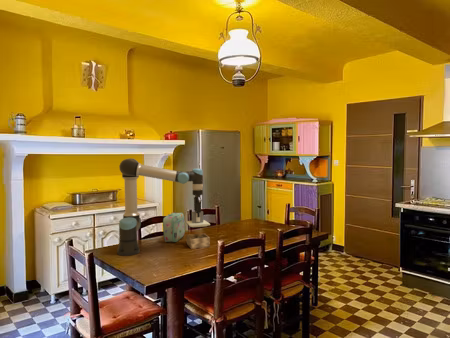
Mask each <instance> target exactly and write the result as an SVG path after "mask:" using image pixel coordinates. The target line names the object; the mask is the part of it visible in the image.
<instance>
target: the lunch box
mask: <svg viewBox="0 0 450 338" xmlns="http://www.w3.org/2000/svg"><path fill="white" fill-rule="evenodd" d="M162 227H163V238H164V242H165V243H166V242H167V243H176V242H177V243H178V242H179V241H180V239H182V238H183V237H184V236H185V232H186V231H185V230H186V223H185V215H184V213H183V212H172V213H170V214H168V215H166V216H165V217H163V220H162Z"/></svg>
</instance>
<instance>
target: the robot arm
mask: <svg viewBox="0 0 450 338" xmlns="http://www.w3.org/2000/svg"><path fill="white" fill-rule="evenodd" d="M119 171H120V173H121V175H122V176H121V178H122V179H123V180H124V213H123V215H122V218H121V219H120V220H119V223H118V231H119V233H118V234H119V242H118V245H117V249H116V253H117V255H119V256H123V257H124V256H133V255H134V256H135V255H137V254H139V253H140V252H141V251H140V245H139V243H138V237H137V236H138V231H139V229H140V228H141V225H142V224H141V223H142V221H141V218H140V216H141V215H140V213H139V212H138V183H137V182H138V178H139V177H140V176H142V177H147V178H153V179H158V180H164V181H170V182H175V183H180V184H183V185H184V184H187V183H188V182H191V183H192V196H194V197H193V209H194V210H193V211H194V212H196V211H197V212H196V222H200V212H201V211H202V198H201V196H203V195H204V193H203V192H204V191H203V187H204V183H203V181H204V180H203V178H204V172H203V169H202V168H193V169H192V170H191V171H190V170H188V171H186V170H180V171H178V170H174V169H173V170H172V169H166V168H164V167H163V168H161V167H156V166H153V165H151V166H150V165H146V164H142V163H140V162H138V160H136V159H135V158H126V159H125V158H124V159H123V160H121V162H120V164H119Z"/></svg>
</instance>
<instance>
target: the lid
mask: <svg viewBox="0 0 450 338" xmlns="http://www.w3.org/2000/svg"><path fill="white" fill-rule="evenodd" d="M196 212H197V211H196ZM196 212H195V211H191V220H186V221H185V225H188V226H189V227H191V228H201V227H203V228H204V227H208V226H211V223H210V222H208V221H207V220H205V219H204V211H203V210H201V212H200V222H196Z"/></svg>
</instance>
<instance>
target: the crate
mask: <svg viewBox="0 0 450 338" xmlns="http://www.w3.org/2000/svg"><path fill="white" fill-rule="evenodd" d="M210 242H211V237H210V236H209V235H207V233H194V234H193V233H191V234H190V233H189V234H186V245H187V246H188V247H189V248H190V250H193V249H203V248H210V247H211V243H210Z"/></svg>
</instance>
